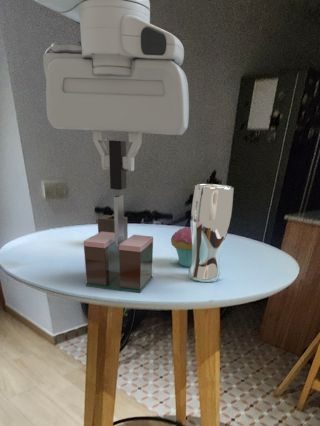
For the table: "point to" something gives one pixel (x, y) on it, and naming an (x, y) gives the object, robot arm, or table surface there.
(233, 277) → the table surface
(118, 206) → the knife
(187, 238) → the cupcake
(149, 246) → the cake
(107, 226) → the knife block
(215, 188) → the beer glass
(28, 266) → the table surface
